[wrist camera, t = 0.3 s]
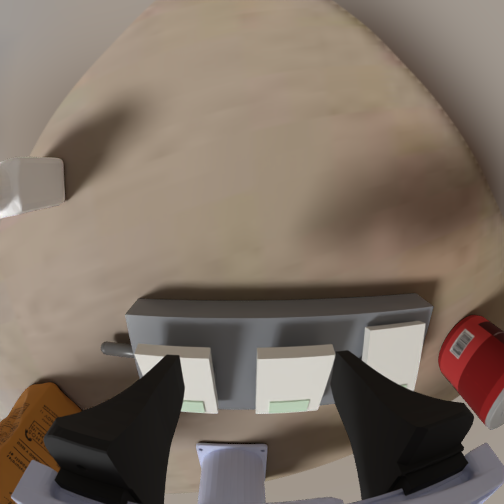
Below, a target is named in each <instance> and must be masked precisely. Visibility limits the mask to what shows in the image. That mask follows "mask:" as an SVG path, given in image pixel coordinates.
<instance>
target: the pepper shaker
mask: <svg viewBox="0 0 504 504" xmlns="http://www.w3.org/2000/svg"><path fill="white" fill-rule="evenodd" d="M64 201H65V187H64V165H63V161H62V160H61V159H59V158H51V157H13V158H10V159H7V160H4V161H1V162H0V218H4V217H9V216H14V215H19V214H23V213H27V212H32V211H36V210H40V209H45V208H49V207H54V206H59V205H60V204H62V203H63V202H64Z"/></svg>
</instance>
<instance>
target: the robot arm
mask: <svg viewBox="0 0 504 504" xmlns="http://www.w3.org/2000/svg"><path fill="white" fill-rule="evenodd" d="M330 386H331V390H332V395H333V398H334V402H335V405H336V407H337V409H338V412H339V414H340V417H341V419H342V422H343V424H344V427H345V429H346V431H347V434H348V437H349V439H350V442H351V446H352V450H353V454H354V458H355V463H356V467H357V472H358V478H359V484H360V490H361V497H362V500H361V501H357V502H353V503H349V504H483V502H485V501H486V500H487V499H488V498H489V497H490V496H491V495H492V494H493V493H494V492H495V491H496V490H497V489H498V488H499V487H500V486H501V485H502V484H503V483H504V465H503V464H502V463H501V461H500V460H499V459H498V457H497V456H496V454H495V453H494V452H493V450H492V449H491V447H490V446H489V445H488V443H484V444H482V445H481V446H479V447H477V448H475V449H473V450H472V451H470V452H469V453H468V454H466V455H465V456H464V455H463V454H462V451H463V450H464V447H463V446H462V444H461V442H462V441H463V439H464V437H465V436H466V434H467V433H468V431H469V430H470V428H471V426H472V424H473V420H474V416H473V414H472V413H471V412H470V410H469V409H468V408H467V407H466V405H465V404H464V403H459V402H452V401H445V400H440V399H436V398H432V397H429V396H425V395H423V394H420V393H417V392H414V391H412V390H409V389H407V388H405V387H403V386H401V385H399V384H397V383H395V382H393V381H391V380H390V379H388V378H387V377H385V376H383V375H382V374H380V373H379V372H377V371H376V370H374V369H373V368H371V367H370V366H369V365H367V364H366V363H365V362H363V361H362V360H361V359H359V358H358V357H357V356H355V355H354V354H353V353H351V352H350V351H348V350H345V351H336V353H335V359H334V365H333V371H332V377H331V382H330ZM184 392H185V385H184V380H183V374H182V368H181V362H180V356H179V355H168V354H167V355H166V356H165V357H163V358H162V359H161V360H160V361H159V362H158V363H157V364H156V365H155V366H154V367H153V368H152V369H151V370H149V371H148V372H147V373H146V374H145V375H144V376H143V377H142V378H140V379H139V380H138V381H137V382H135V383H134V384H133V385H131V386H130V387H129V388H127V389H126V390H125V391H123V392H122V393H120V394H118V395H117V396H115V397H113V398H111V399H110V400H107V401H105V402H103V403H101V404H99V405H97V406H95V407H92V408H90V409H87V410H84V411H81V412H78V413H75V414H71V415H67V416H62V417H57V418H56V419H55V421H54V422H53V424H52V425H51V427H50V428H49V430H48V431H47V433H46V434H45V436H44V439H43V441H44V444H45V447H46V448H47V450H48V452H49V453H50V454H51V456H52V457H53V458H54V460H55V461H56V462H57V464H58V465H59V466H60V467H61V468H60V470H59V472H58V473H57V472H56V471H55V470H54V469H52V468H50V467H48V466H46V465H43V464H41V463H39V462H37V461H35V460H31V462H30V464H29V465H28V467H27V469H26V471H25V472H24V474H23V476H22V477H21V479H20V481H19V483H18V485H17V486H16V488H15V490H14V492H13V494H12V495H11V498H12V499H13V500H14V501H15V502H16V503H17V504H164V493H165V482H166V473H167V465H168V458H169V452H170V446H171V442H172V439H173V435H174V432H175V429H176V425H177V422H178V419H179V415H180V412H181V409H182V405H183V399H184ZM196 449H197V453H198V457H199V461H200V465H201V469H202V471H201V479H200V488H199V496H198V504H344V503H343V500H341V499H337V498H333V497H324V498H314V499H306V500H298V501H288V502H275V503H266V502H265V486H264V481H265V475H266V461H267V445H266V444H213V443H197V444H196Z"/></svg>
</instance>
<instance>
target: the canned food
mask: <svg viewBox="0 0 504 504" xmlns="http://www.w3.org/2000/svg"><path fill="white" fill-rule="evenodd" d="M438 363H439V367H440V370H441V372H442V374H443V375H444V376H445V377H446V379H447V380H448V381H449V382H450V383H451V384H452V386H453V387H454V388H455V389H456V390H457V392H458V393H459V394H460V395H461V396H462V398H463V399H464V400H465V401H466V402H467V403H468V405H469V406H470V407H471V409H472V410H473V411H474V412H475V413H476V415H477V416H478V417H479V419H480V420H481V421H482V422H483V423H484V424H485V426H487V427H488V428H489V429H490V430H493V429H495V428H497V427H499V426H501V425H502V424H504V331H502V330H501V329H499V328H498V327H497V326H495V325H494V324H492V323H491V322H490V321H488V320H487V319H485V318H484V317H482V316H478V315H470V316H468V317H465V318H464V319H462V320H461V321H460V322H459V323H458V324H456V326H455V327H454V328H453V329H452V330H451V331H450V333H449V334H448V336H447V337H446V339H445V341H444V343H443V345H442V347H441V350H440V353H439V359H438Z"/></svg>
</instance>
